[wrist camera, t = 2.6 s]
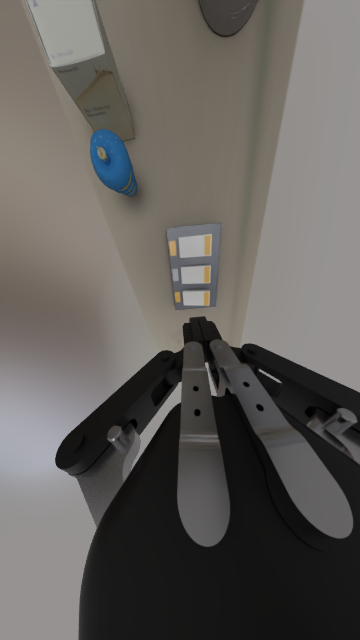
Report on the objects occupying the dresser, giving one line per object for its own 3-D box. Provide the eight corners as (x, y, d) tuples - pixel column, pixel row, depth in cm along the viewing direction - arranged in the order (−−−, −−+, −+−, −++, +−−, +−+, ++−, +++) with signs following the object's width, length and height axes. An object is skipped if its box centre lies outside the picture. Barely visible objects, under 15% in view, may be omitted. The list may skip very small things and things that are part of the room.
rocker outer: (183, 289, 35) (182, 291, 34) (209, 289, 34) (209, 291, 32) (184, 303, 37) (183, 305, 36) (209, 303, 36) (209, 306, 34)
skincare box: (103, 146, 24) (49, 71, 14) (91, 105, 22) (14, -21, 11) (136, 138, 24) (106, 55, 13) (127, 96, 21) (82, -44, 11)
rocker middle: (181, 266, 32) (180, 267, 31) (210, 264, 30) (210, 265, 29) (183, 282, 34) (181, 284, 33) (210, 281, 32) (210, 283, 31)
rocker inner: (179, 237, 29) (178, 237, 28) (211, 234, 27) (211, 233, 26) (181, 257, 31) (179, 258, 30) (211, 255, 29) (211, 255, 28)
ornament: (141, 170, 26) (107, 98, 13) (150, 204, 28) (129, 171, 15) (117, 179, 26) (61, 117, 13) (128, 210, 29) (90, 184, 16)
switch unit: (167, 229, 31) (166, 227, 28) (217, 224, 31) (222, 222, 27) (175, 305, 41) (175, 311, 38) (213, 302, 41) (216, 307, 38)
